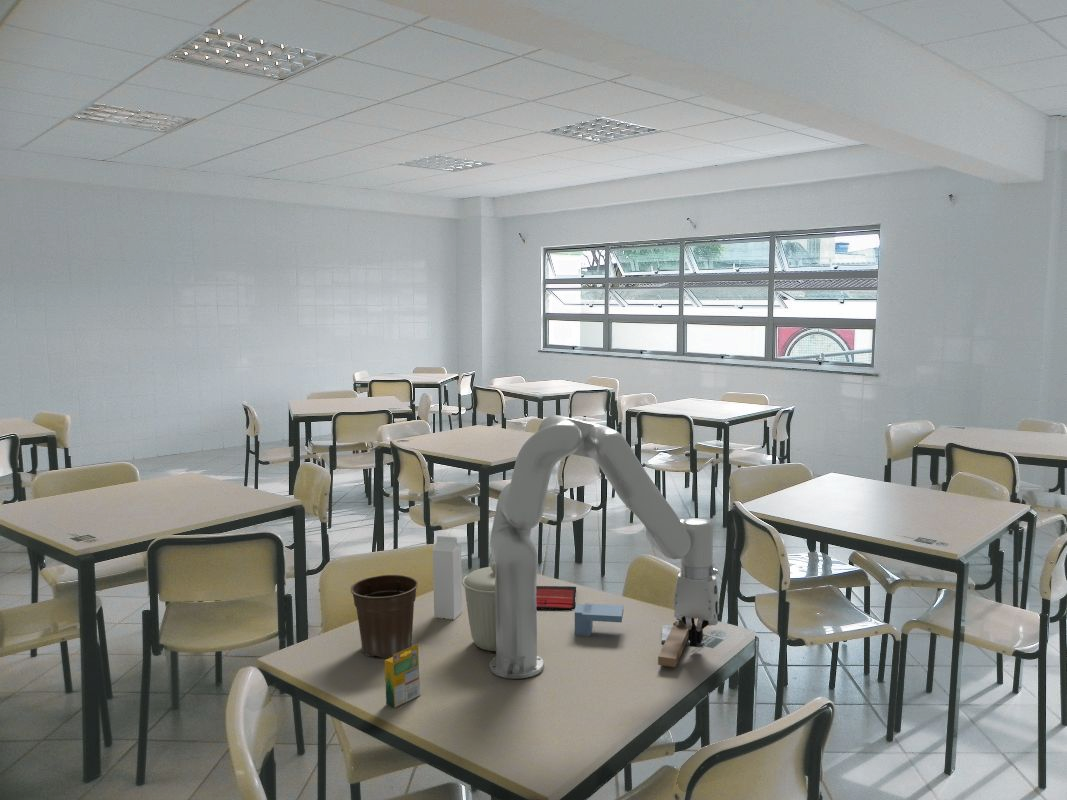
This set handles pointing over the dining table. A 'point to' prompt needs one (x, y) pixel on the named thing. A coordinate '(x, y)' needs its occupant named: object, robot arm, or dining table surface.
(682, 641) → the latch bar
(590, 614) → the block
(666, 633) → the pintle base
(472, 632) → the canister
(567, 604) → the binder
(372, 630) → the plant pot
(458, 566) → the milk
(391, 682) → the crayon box
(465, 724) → the dining table surface
